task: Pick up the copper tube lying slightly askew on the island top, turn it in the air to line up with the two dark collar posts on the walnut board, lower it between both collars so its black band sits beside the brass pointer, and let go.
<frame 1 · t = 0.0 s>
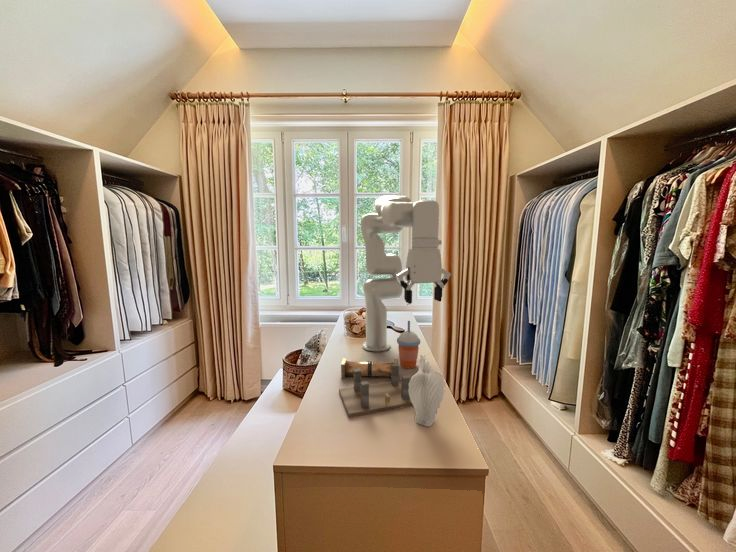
hand: (423, 301, 89), 31 cm above the table, tool pointing down, fingers open, 9 cm apart
cup with straw: (408, 365, 117), on the table
copper tube: (369, 375, 108), on the table
shell sculpture: (426, 422, 82), on the table
collar board: (380, 397, 94), on the table
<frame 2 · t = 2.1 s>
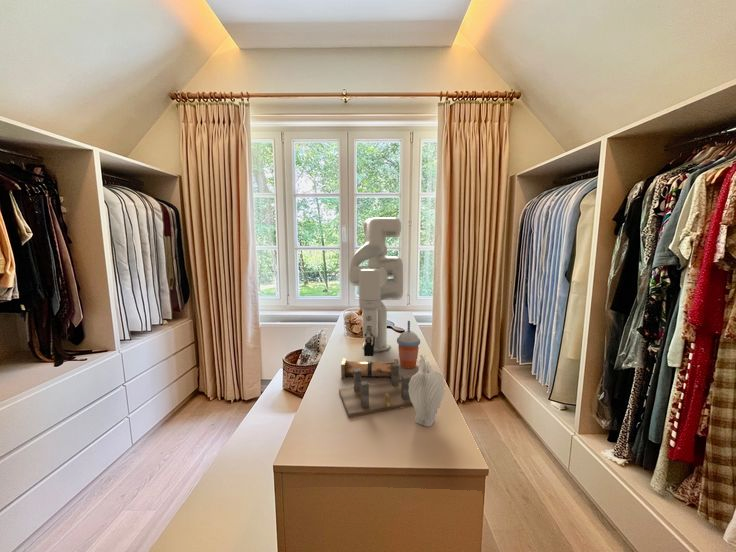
hand: (369, 350, 106), 10 cm above the table, tool pointing down, fingers open, 9 cm apart
nothing on the table moved.
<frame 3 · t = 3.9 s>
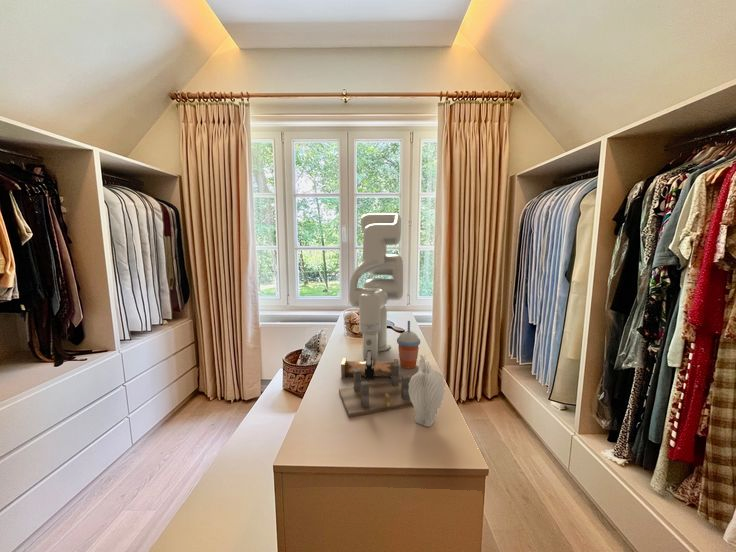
hand: (369, 374, 108), 0 cm above the table, tool pointing down, fingers closed on copper tube, 5 cm apart
copper tube: (369, 375, 108), on the table, touching gripper
everything else where it was.
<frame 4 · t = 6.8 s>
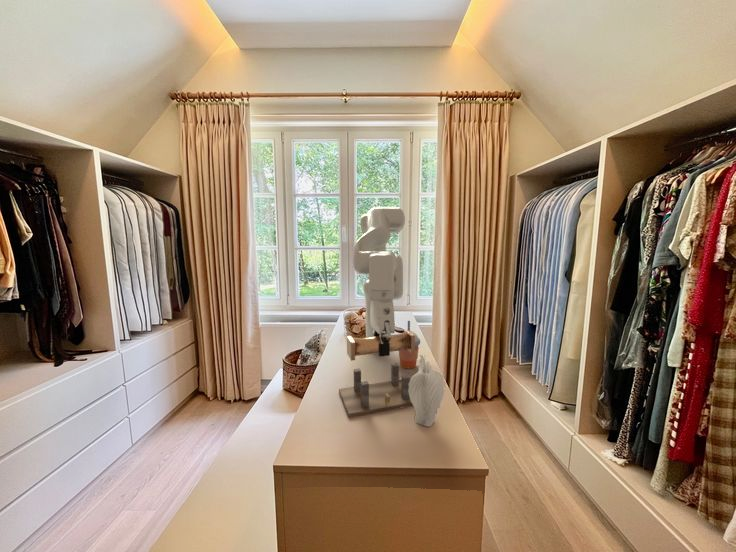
hand: (380, 351, 91), 15 cm above the table, tool pointing down, fingers closed on copper tube, 5 cm apart
copper tube: (380, 352, 92), point 15 cm above the table, touching gripper
everything else where it was.
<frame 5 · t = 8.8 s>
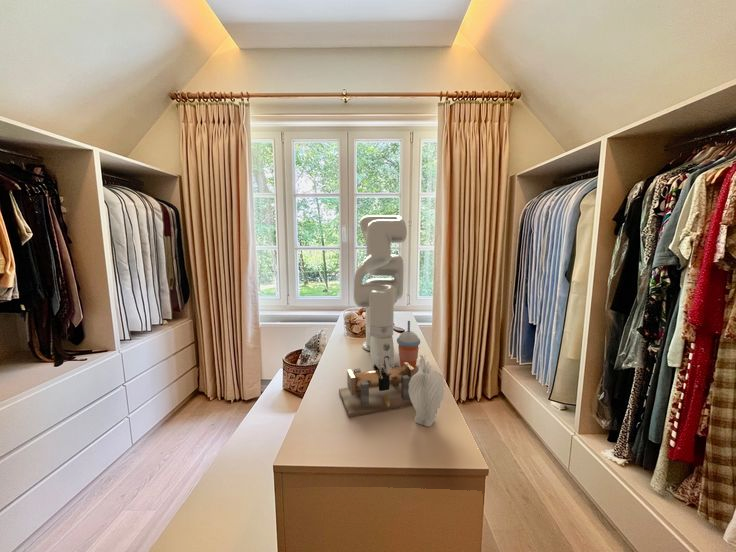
hand: (380, 384, 93), 4 cm above the table, tool pointing down, fingers closed on copper tube, 5 cm apart
copper tube: (380, 386, 93), point 4 cm above the table, touching gripper
everything else where it was.
when the fingers open (2 cm above the table, at t = 10.1 s): copper tube stays where it is, resting on collar board.
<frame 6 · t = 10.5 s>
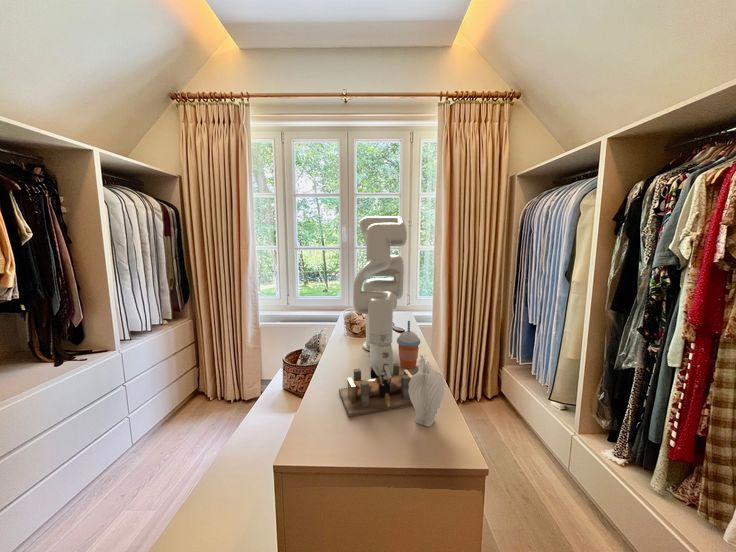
hand: (379, 388, 94), 3 cm above the table, tool pointing down, fingers open, 8 cm apart
copper tube: (380, 394, 93), point 1 cm above the table, touching collar board
everything else where it was.
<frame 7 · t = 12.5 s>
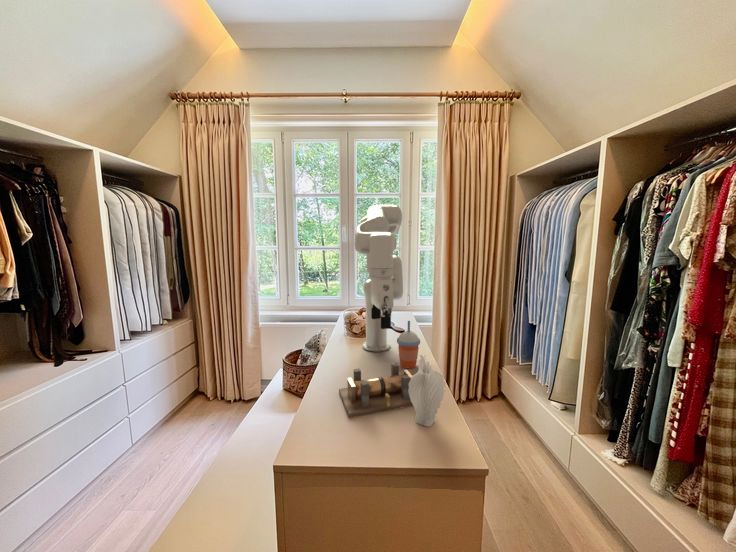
hand: (380, 323, 98), 22 cm above the table, tool pointing down, fingers open, 9 cm apart
nothing on the table moved.
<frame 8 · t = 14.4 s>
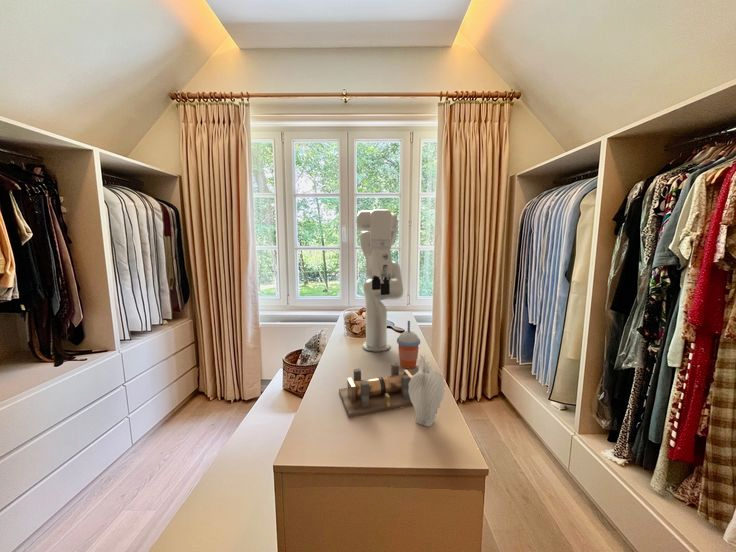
hand: (380, 292, 108), 30 cm above the table, tool pointing down, fingers open, 9 cm apart
nothing on the table moved.
at the end: copper tube 0.1 cm off-centre on the collar board, point 1.2 cm above the collar board's base; copper tube tilted 0°; the gripper is holding nothing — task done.
